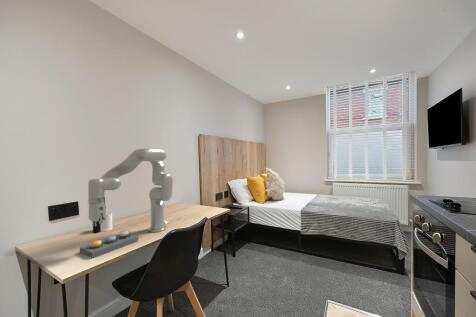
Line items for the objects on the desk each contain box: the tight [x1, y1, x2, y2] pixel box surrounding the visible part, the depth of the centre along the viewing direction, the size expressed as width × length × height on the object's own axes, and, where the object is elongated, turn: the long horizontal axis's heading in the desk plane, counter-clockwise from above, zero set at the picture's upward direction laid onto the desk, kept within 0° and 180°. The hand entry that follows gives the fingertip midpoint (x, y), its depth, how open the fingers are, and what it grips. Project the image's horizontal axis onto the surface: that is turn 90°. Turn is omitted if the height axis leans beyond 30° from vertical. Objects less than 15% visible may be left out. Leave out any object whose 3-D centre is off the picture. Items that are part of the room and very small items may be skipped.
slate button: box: [105, 235, 117, 242], centre depth 120 cm, size 5×5×2 cm
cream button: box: [119, 229, 130, 236], centre depth 127 cm, size 5×5×2 cm
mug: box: [101, 211, 114, 233], centre depth 150 cm, size 12×8×12 cm
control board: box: [79, 233, 139, 259], centre depth 120 cm, size 26×14×3 cm, turn 150°
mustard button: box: [90, 239, 102, 247], centre depth 113 cm, size 5×5×2 cm
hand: (96, 232), depth 113 cm, fingers closed
